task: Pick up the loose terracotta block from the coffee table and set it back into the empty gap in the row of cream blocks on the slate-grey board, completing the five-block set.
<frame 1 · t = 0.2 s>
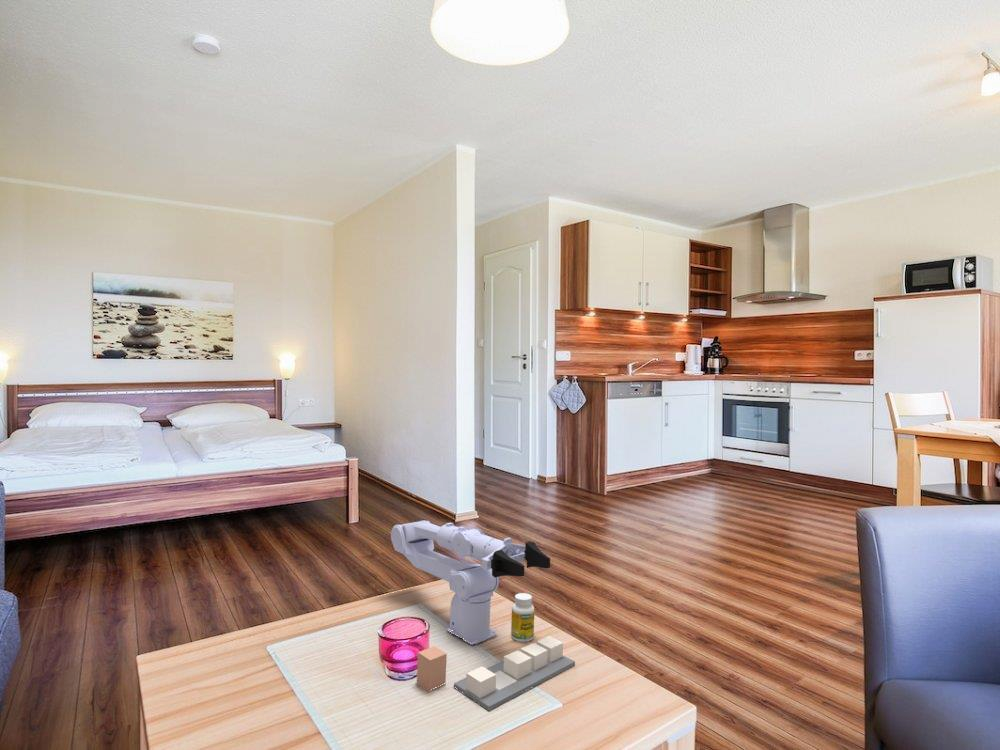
hand: (536, 567, 116), 21 cm above the table, tool horizontal, fingers open, 7 cm apart
supplement bottle: (522, 638, 130), on the table
block set board: (517, 675, 113), on the table
terracotta block: (431, 683, 109), on the table
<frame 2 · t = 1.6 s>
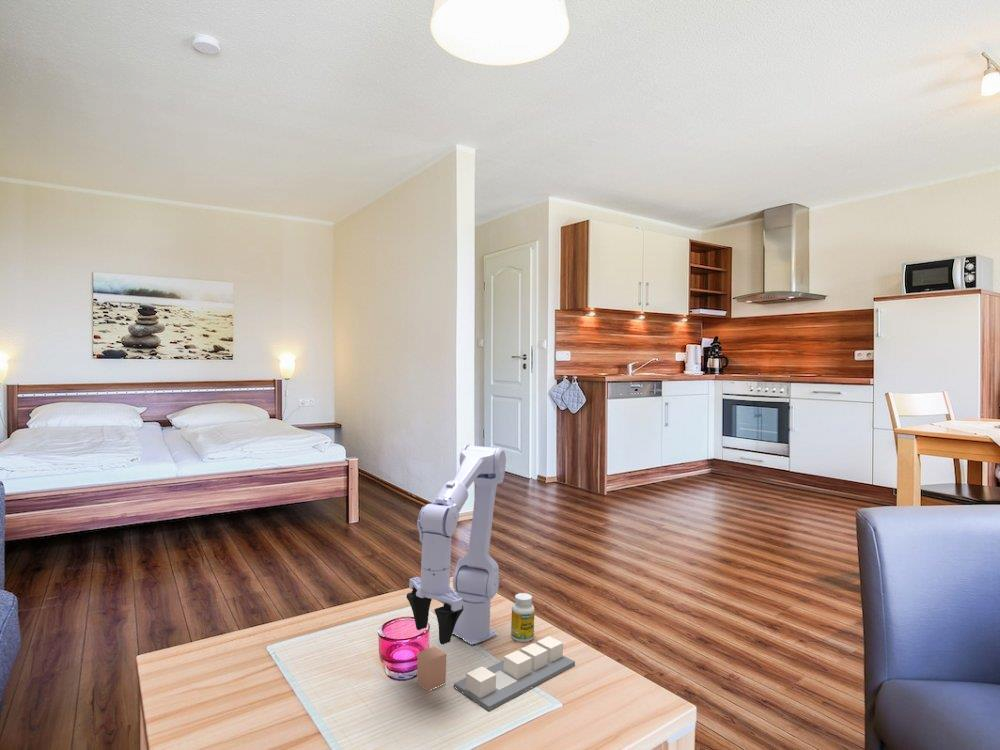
hand: (433, 635, 109), 9 cm above the table, tool pointing down, fingers open, 7 cm apart
nothing on the table moved.
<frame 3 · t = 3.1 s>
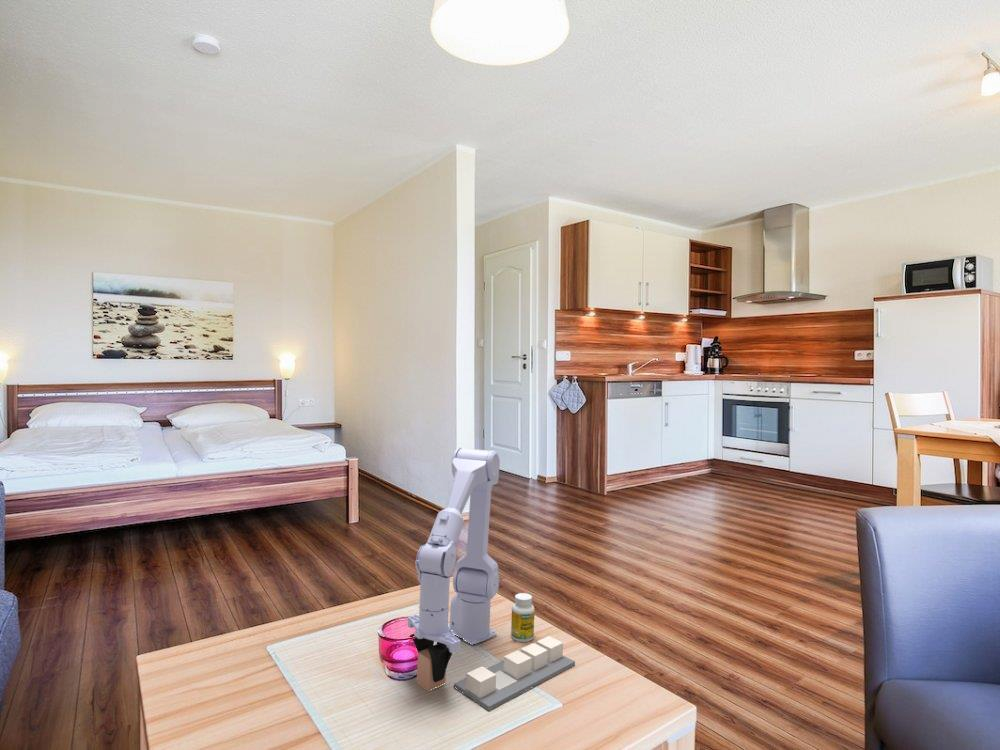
hand: (431, 675, 109), 2 cm above the table, tool pointing down, fingers closed on terracotta block, 4 cm apart
terracotta block: (431, 683, 109), on the table, touching gripper
everything else where it was.
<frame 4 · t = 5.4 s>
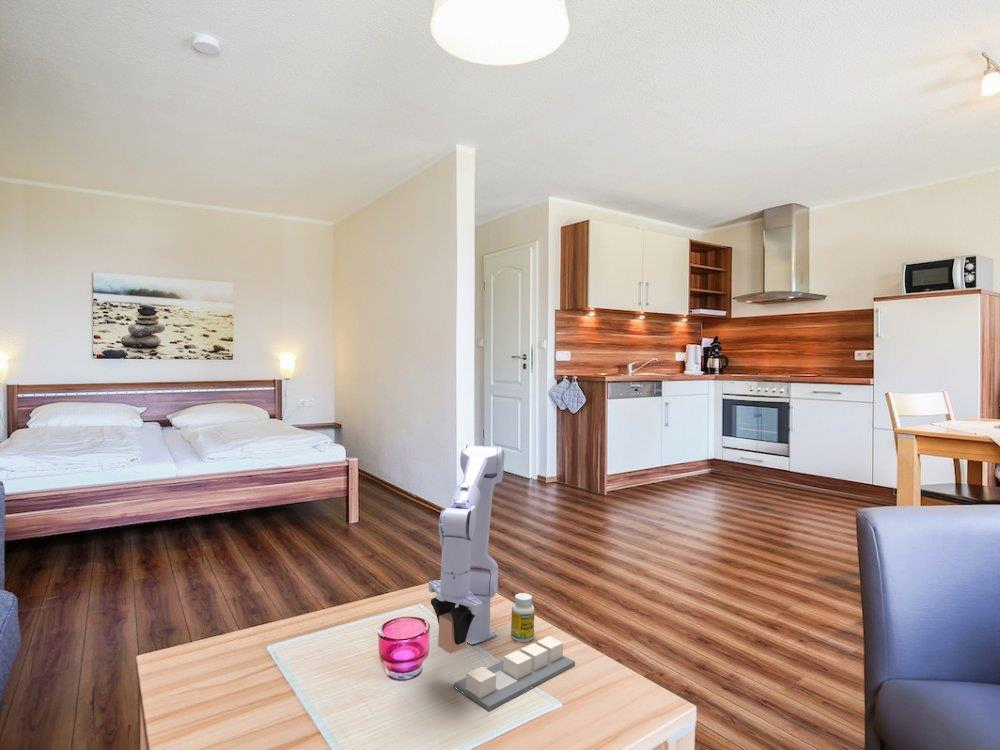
hand: (452, 638, 109), 9 cm above the table, tool pointing down, fingers closed on terracotta block, 4 cm apart
terracotta block: (452, 646, 109), point 7 cm above the table, touching gripper
everything else where it was.
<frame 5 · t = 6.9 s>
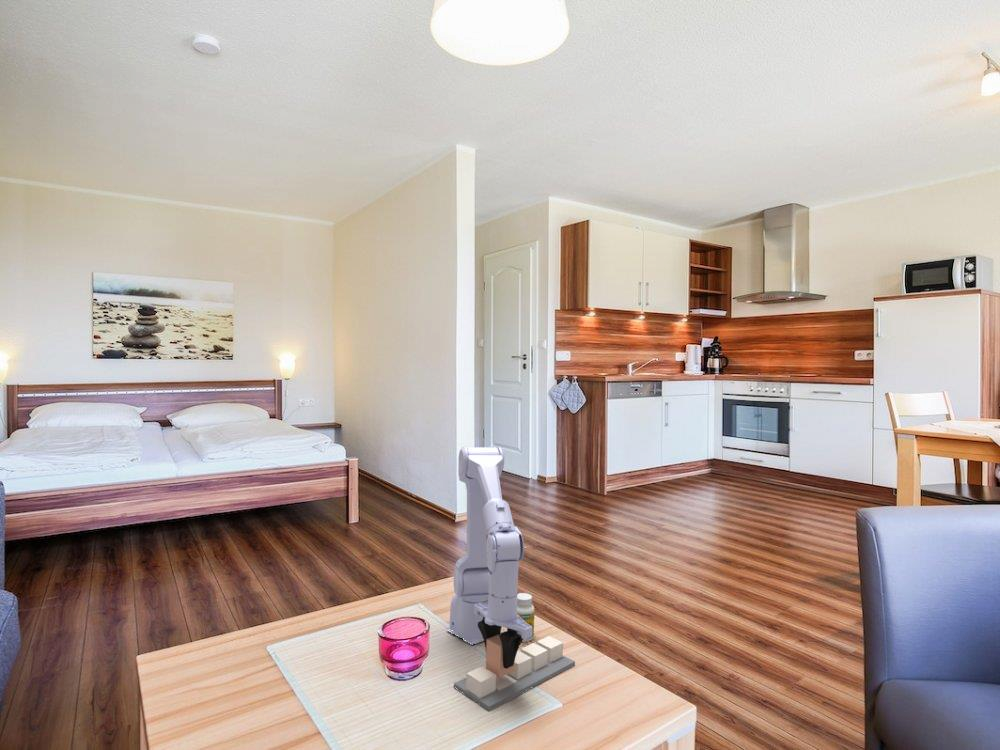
hand: (500, 661, 110), 4 cm above the table, tool pointing down, fingers closed on terracotta block, 4 cm apart
terracotta block: (499, 670, 110), point 3 cm above the table, touching gripper
everything else where it was.
when the fingers open (4 cm above the table, at t = 7.9 s): terracotta block drops 1 cm, resting on block set board.
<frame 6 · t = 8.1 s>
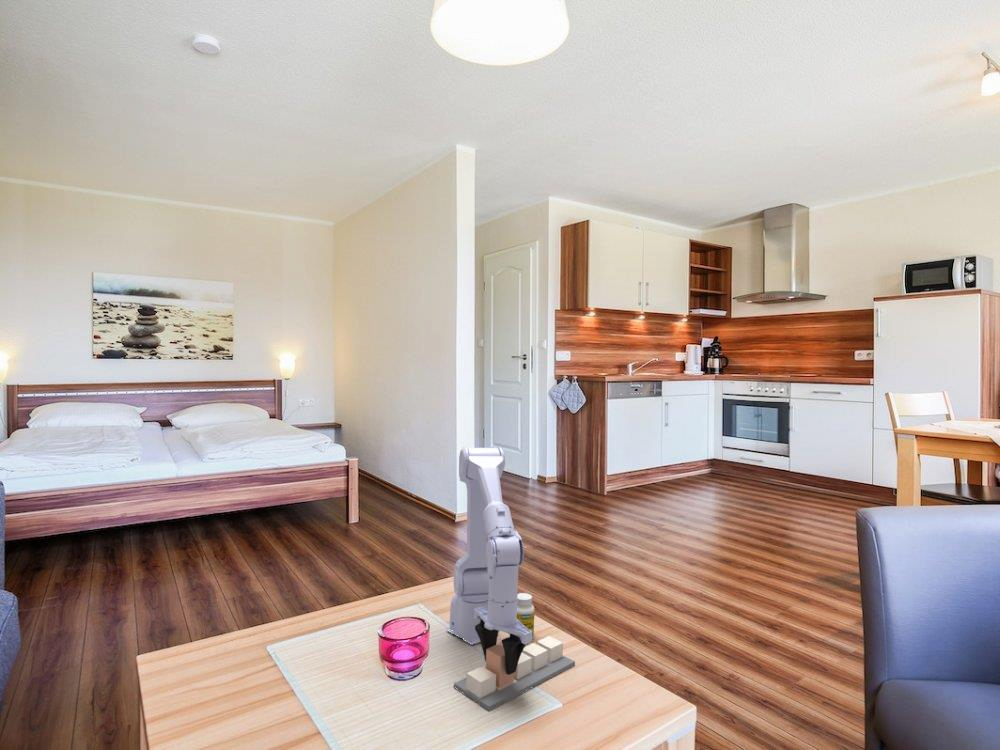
hand: (500, 666, 110), 4 cm above the table, tool pointing down, fingers open, 5 cm apart
terracotta block: (499, 680, 110), point 1 cm above the table, touching block set board
everything else where it was.
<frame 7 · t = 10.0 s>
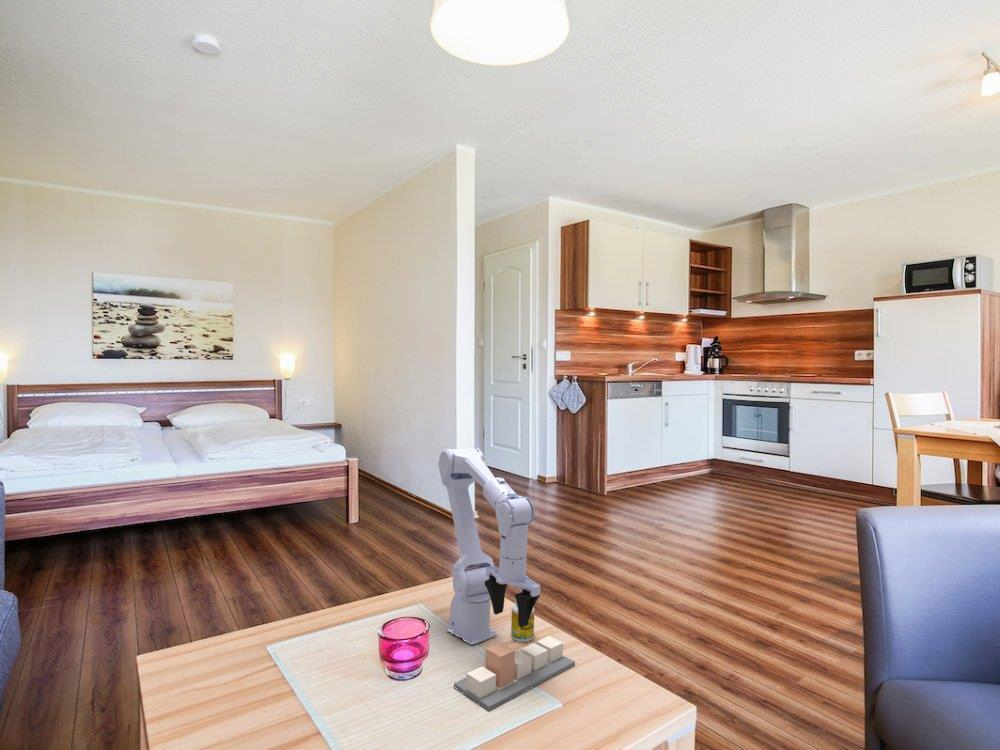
hand: (510, 619, 118), 9 cm above the table, tool pointing down, fingers open, 7 cm apart
nothing on the table moved.
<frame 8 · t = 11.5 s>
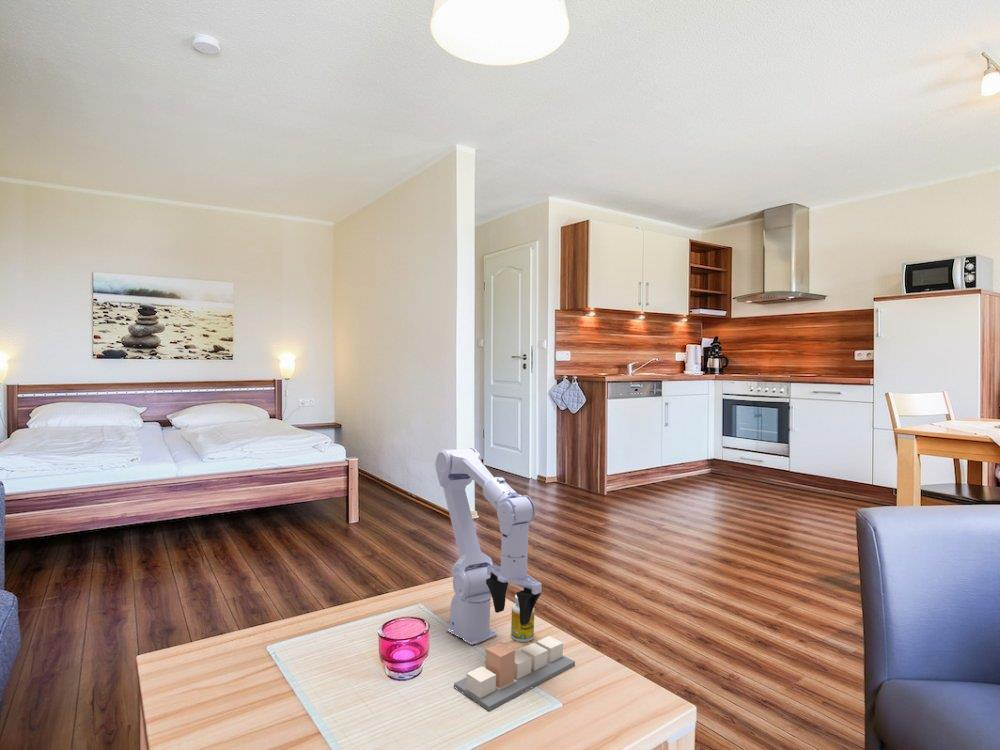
hand: (511, 617, 119), 9 cm above the table, tool pointing down, fingers open, 7 cm apart
nothing on the table moved.
at the end: terracotta block 0.0 cm from the target spot on the block set board, point 0.9 cm above the block set board's base; terracotta block tilted 0°; the gripper is holding nothing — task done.
